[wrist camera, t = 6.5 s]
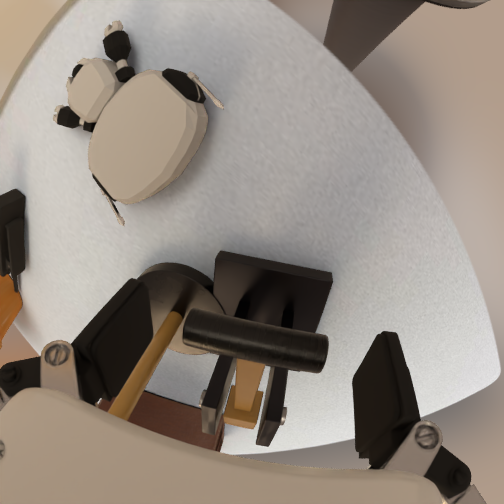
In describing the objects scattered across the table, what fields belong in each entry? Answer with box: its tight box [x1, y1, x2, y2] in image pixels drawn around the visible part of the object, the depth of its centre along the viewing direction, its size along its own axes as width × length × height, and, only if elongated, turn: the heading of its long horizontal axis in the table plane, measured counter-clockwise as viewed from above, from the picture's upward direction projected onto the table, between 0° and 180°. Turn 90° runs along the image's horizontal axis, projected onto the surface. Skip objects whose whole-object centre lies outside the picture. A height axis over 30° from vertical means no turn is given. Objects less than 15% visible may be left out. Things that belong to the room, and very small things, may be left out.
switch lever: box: [182, 308, 329, 429], centre depth 14 cm, size 13×5×2 cm, turn 172°
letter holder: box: [98, 391, 225, 452], centre depth 35 cm, size 10×20×14 cm, turn 84°
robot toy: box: [53, 21, 224, 226], centre depth 18 cm, size 12×4×15 cm
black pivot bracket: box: [199, 251, 333, 447], centre depth 21 cm, size 12×10×13 cm
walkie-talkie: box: [0, 189, 25, 293], centre depth 29 cm, size 6×6×20 cm
